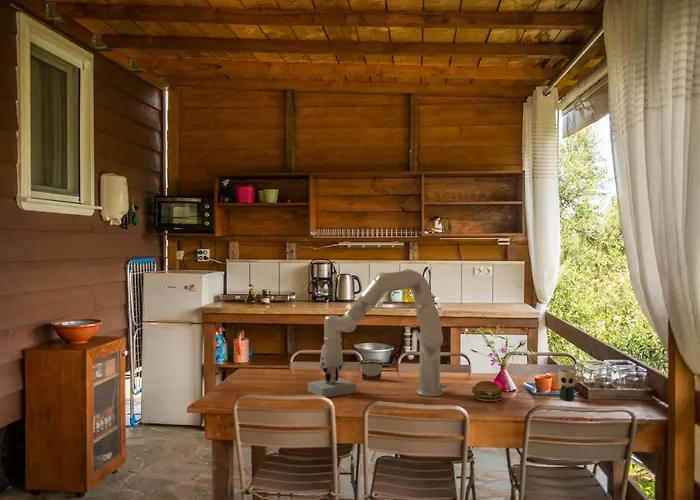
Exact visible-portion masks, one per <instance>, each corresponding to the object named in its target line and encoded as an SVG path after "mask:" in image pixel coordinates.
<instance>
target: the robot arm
mask: <svg viewBox="0 0 700 500" xmlns="http://www.w3.org/2000/svg"><path fill="white" fill-rule="evenodd" d="M402 290H411V293H412V297H413V300H414V306H415V311H416V314H415V315H416V318H417V320H418V324H419V329H420V331H419V338H418V339H419V378H418V379H419V380H418V381H419V383H418V384H419V387H418V388H417V389H416V390H415V393H416V394H417V395H419V396H423V397H430V398H431V397H433V398H434V397H441V396H442V395H444V391H443V389H446V388H447V387H448V383H446V382H445V383H441V346H442V345H443V342H444V337H443V330H442V329H443V328H442V324H441V319H440V315H439V311H438V309H437V308H436V307H435V303H434V300H433V295H432V291H431V288H430V284H429V282H428V281H427V278H425V277H424V275H422V274H421V273H420V272H419V271H418V272H417V271H415V270H413V269H408V268H407V269H406V268H405V269H404V270H401V271H394V272H380V273H378V274H377V275H376V276H375V277H374V279H373V280H372V281H371V282H370V283H369V284H368V285H367V287H366V288H365V289H364V290H363V291H362V293H361V294H360V295H359V296H358V298H357V299H356V300H355V302H354V303H353V304H352V306H351V307H350V308H349V309H348V310H347V311H346V312H345V314H344V315H343V316H339V315H334V314H333V315H326V316H324V319H323V322H324V323H323V326H324V327H323V328H324V329H323V331H324V332H323V334H324V335H323V344H322V346H321V351H320V361H319V363H320V364H319V366H318V368H319V369H320V370H322V371H323V373H324V374H325V376H324V380H326V381H327V382H330V373H329V370H330V367H332V366H336V381H338V378H339V372H341V369H342V368H343V367H344V366H345V362H344V360H343V357H344V355H343V349H342V348H343V347H342V344H341V343H342V342H343V339H342V338H341V332H342V333H351V332H354V331H355V330H356V328H357V324H358V323H360V321H361V320H362V318H364V316H365V315H366V314H367V313H368V312H370V311H371V310H372V309H374V308H375V307H376V305H377V304H379V302H380V301H381V299H383V297H384V296H385V294H387V292H395V291H402Z"/></svg>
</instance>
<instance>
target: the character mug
mask: <svg viewBox="0 0 700 500" xmlns="http://www.w3.org/2000/svg"><path fill="white" fill-rule="evenodd" d="M557 377H558V378H557ZM576 378H577V380H576ZM553 380H554V382H558V384H559V385H560V389H559V396H558V397H559V399H561V400H563V399H564V401H566V400H568V401H573V399H574V400H575V393H574V388H573V387H574V386H575V385H576V384H580V383H581V376H580V375H576V371H575V370H572V369H566V368H565V369H558V373H554V375H553Z"/></svg>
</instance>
